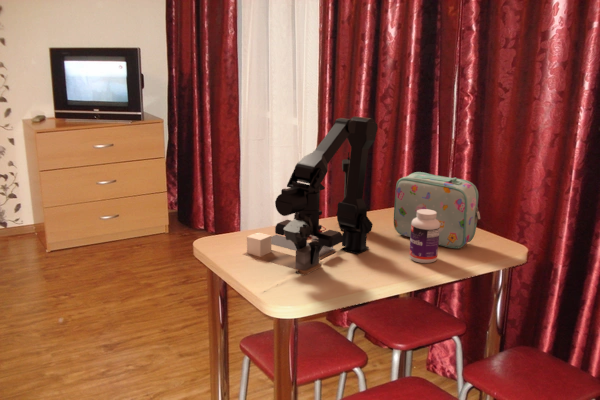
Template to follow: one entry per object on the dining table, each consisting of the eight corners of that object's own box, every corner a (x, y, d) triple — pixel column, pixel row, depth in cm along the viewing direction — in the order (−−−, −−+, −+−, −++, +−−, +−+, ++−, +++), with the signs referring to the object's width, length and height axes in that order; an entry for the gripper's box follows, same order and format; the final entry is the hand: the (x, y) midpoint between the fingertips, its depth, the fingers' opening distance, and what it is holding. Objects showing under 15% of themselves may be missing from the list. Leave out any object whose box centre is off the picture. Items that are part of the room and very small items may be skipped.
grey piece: (335, 252, 187) (335, 233, 185) (320, 260, 181) (320, 240, 179) (276, 237, 199) (276, 219, 198) (260, 244, 193) (260, 225, 191)
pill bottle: (403, 256, 185) (406, 209, 181) (426, 253, 188) (430, 206, 184) (419, 266, 178) (422, 216, 174) (442, 262, 181) (446, 214, 177)
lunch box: (481, 246, 195) (487, 178, 189) (466, 254, 188) (472, 184, 182) (406, 227, 212) (410, 165, 206) (389, 235, 204) (393, 170, 198)
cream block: (271, 252, 184) (271, 235, 182) (260, 256, 180) (260, 240, 178) (257, 248, 186) (257, 232, 185) (246, 253, 182) (246, 236, 181)
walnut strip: (321, 266, 176) (322, 246, 174) (304, 275, 170) (305, 254, 168) (259, 249, 188) (259, 230, 187) (242, 257, 182) (242, 237, 180)
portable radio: (359, 232, 206) (362, 156, 200) (341, 231, 206) (343, 156, 200) (357, 224, 214) (360, 152, 207) (340, 224, 214) (342, 151, 207)
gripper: (262, 208, 168) (262, 263, 172) (320, 221, 158) (318, 279, 162) (287, 199, 177) (287, 252, 181) (344, 211, 166) (342, 267, 171)
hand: (307, 262), depth 173 cm, fingers closed on walnut strip, 3 cm apart
